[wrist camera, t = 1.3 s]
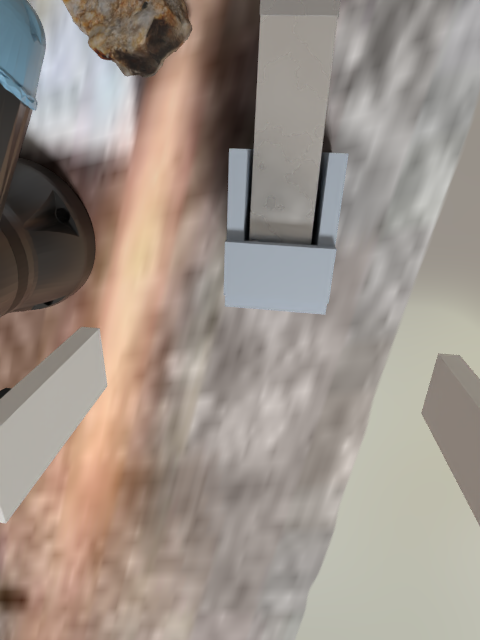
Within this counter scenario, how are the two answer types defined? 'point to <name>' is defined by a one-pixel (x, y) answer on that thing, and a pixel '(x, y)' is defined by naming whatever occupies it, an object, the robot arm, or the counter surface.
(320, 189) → the grey u-shaped block
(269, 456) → the counter surface
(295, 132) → the light grey long block
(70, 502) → the counter surface
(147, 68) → the rock
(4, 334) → the counter surface
